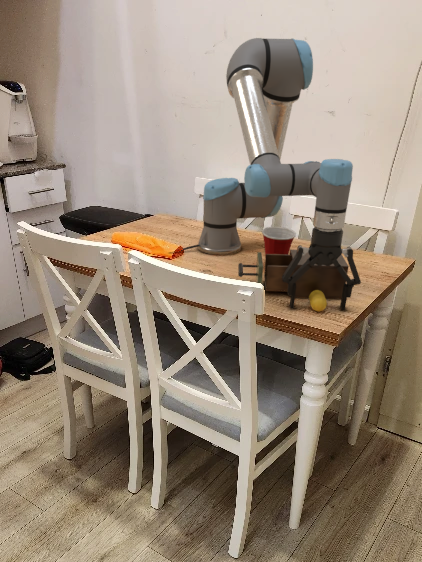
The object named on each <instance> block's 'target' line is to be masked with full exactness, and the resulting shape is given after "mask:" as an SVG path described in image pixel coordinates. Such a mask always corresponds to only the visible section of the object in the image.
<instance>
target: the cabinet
mask: <svg viewBox="0 0 422 562" xmlns="http://www.w3.org/2000/svg"><path fill="white" fill-rule="evenodd" d="M296 252H297V249H290V251H289V255H291V257H292V260H293V258H294V256H295V255H296ZM309 257H310V255H309V253H306V254H305V255H304V256H302V258H301V260H300V261H299V263H298V265H297V266H296V268H295V269H294V273H295V272H296V271H297V270H298V269H299V268H300V267H301V266H302V265H303V264H304V263H305V262H306V261H307V259H308V258H309ZM337 260H338V262H339V263H340V265H341V266H342V267H343V269H344V270H345V272H346V273H347V274H348V272H349V268H350V266H349V264H348V262H347V261H346V259H345V257H344V255H343V254H341V255H340V256H339V258H338V259H337ZM294 273H293V274H294ZM295 283H296V293H295V299H297V298H298V299H299V298H300V299H309V295H310V294H311V292H313V291H315V290H319V291H321V292H323V294H324V296H325V298H326V300H328V299H329V300H341V298H342V292H343V286H344V283H345V284H347V282H346V281H345V279H344V278H343V277H342V275H341V274H340V272H339V271H338V270H337V268H336V267H335V266H334V264H332V265H330V266H326V265H321V266H318V265H316V264H314V265H313V266H312V267H311V268H309V269H308V270H307V271H306V272H305V273H304V274H303V275H302V276H301V277H300V278H299V279H298V280H297V281H296V282H295Z"/></svg>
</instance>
